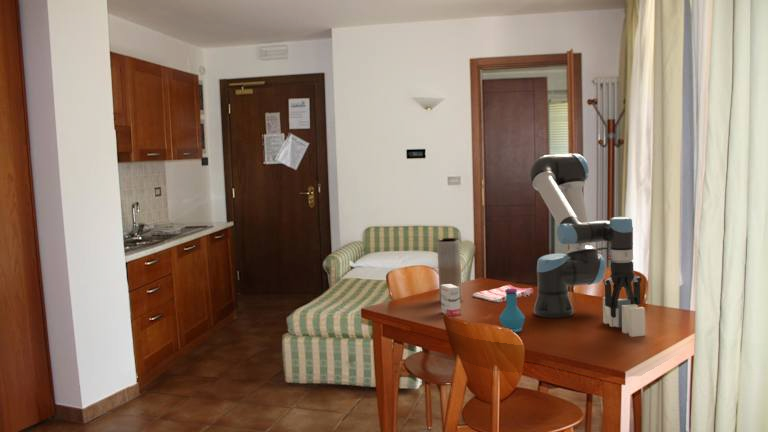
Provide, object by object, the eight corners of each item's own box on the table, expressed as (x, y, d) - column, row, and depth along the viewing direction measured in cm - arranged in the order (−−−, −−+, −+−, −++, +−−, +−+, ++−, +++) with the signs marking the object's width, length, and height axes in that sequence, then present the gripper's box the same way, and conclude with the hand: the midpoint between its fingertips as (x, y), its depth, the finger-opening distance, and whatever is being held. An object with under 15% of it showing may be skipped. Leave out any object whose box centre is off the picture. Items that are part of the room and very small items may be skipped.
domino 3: (638, 332, 227) (637, 305, 226) (624, 333, 226) (624, 306, 225) (635, 330, 229) (634, 304, 228) (622, 332, 228) (621, 305, 227)
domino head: (618, 322, 240) (617, 297, 239) (605, 323, 239) (605, 298, 239) (615, 321, 242) (615, 296, 241) (603, 322, 241) (602, 297, 240)
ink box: (461, 315, 264) (460, 286, 263) (450, 316, 262) (448, 288, 261) (452, 310, 272) (450, 283, 271) (441, 312, 270) (439, 284, 269)
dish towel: (534, 295, 295) (534, 287, 294) (498, 304, 281) (498, 296, 281) (507, 290, 308) (506, 282, 308) (471, 298, 295) (471, 290, 295)
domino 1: (624, 325, 236) (624, 299, 235) (611, 326, 235) (611, 300, 234) (622, 324, 238) (621, 298, 237) (609, 325, 237) (608, 299, 236)
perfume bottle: (520, 334, 232) (518, 292, 231) (496, 331, 237) (494, 291, 236) (528, 327, 240) (527, 287, 239) (505, 325, 245) (503, 286, 244)
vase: (449, 298, 296) (446, 237, 293) (466, 300, 289) (464, 238, 286) (435, 302, 289) (432, 240, 286) (452, 305, 282) (449, 241, 279)
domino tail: (645, 335, 223) (644, 308, 222) (631, 336, 222) (631, 309, 221) (642, 334, 224) (641, 306, 223) (629, 335, 224) (628, 308, 223)
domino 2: (615, 326, 232) (614, 299, 231) (628, 324, 233) (627, 298, 232) (618, 327, 231) (617, 300, 230) (631, 326, 231) (630, 299, 230)
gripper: (603, 264, 225) (605, 330, 227) (651, 260, 227) (652, 325, 230) (593, 261, 232) (594, 325, 234) (639, 257, 235) (640, 320, 237)
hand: (623, 325), depth 232 cm, fingers closed on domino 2, 5 cm apart
